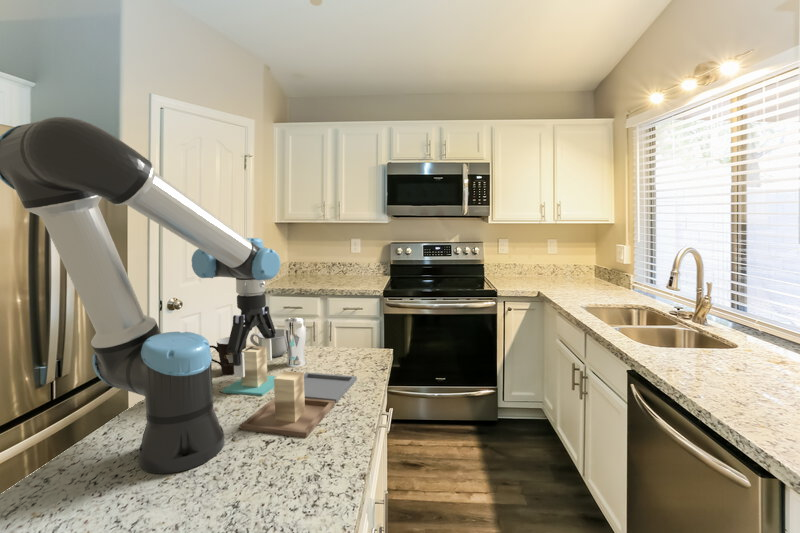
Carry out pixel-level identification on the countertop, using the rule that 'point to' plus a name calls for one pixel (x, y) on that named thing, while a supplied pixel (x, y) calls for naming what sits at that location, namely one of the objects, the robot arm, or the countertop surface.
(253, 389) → the teal mat
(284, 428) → the walnut tray
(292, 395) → the plain block
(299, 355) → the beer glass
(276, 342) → the teacup
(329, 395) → the grey tray
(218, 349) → the coffee mug
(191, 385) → the robot arm
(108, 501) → the countertop surface
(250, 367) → the letter block
